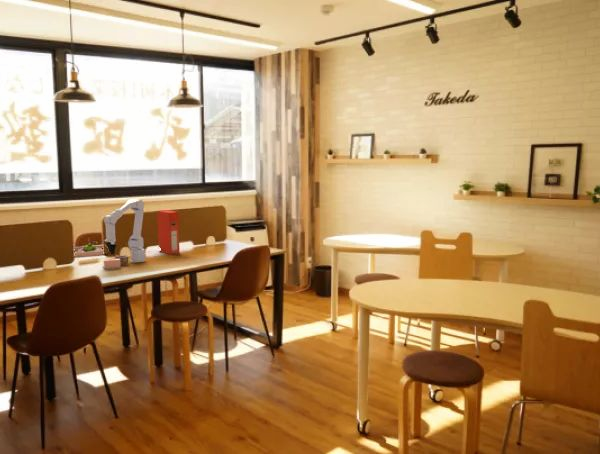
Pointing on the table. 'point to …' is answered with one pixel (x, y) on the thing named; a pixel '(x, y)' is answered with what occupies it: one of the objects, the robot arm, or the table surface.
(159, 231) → the file binder
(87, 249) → the plant
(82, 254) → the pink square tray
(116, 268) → the pad
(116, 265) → the pink eraser brick
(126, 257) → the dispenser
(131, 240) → the robot arm
